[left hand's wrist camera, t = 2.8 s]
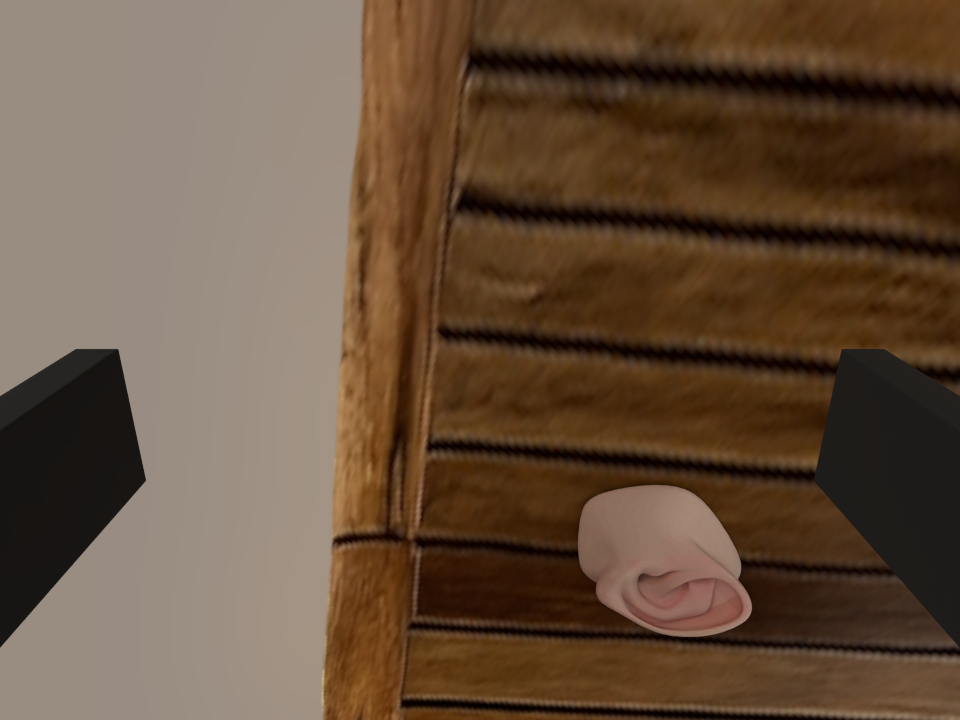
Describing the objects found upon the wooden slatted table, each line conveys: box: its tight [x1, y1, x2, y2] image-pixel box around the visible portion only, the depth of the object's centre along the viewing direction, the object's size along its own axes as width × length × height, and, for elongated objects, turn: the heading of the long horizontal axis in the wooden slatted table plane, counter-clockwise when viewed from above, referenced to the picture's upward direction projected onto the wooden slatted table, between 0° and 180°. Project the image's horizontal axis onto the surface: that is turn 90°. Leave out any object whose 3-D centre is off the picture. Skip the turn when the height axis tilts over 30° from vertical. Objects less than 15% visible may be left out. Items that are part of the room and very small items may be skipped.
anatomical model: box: [578, 485, 752, 637], centre depth 50 cm, size 13×4×12 cm
